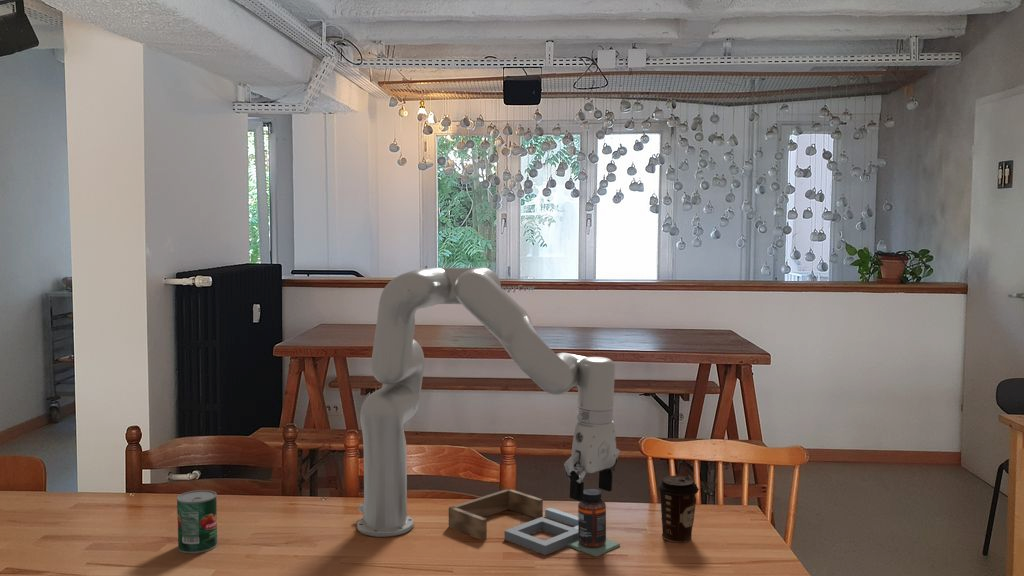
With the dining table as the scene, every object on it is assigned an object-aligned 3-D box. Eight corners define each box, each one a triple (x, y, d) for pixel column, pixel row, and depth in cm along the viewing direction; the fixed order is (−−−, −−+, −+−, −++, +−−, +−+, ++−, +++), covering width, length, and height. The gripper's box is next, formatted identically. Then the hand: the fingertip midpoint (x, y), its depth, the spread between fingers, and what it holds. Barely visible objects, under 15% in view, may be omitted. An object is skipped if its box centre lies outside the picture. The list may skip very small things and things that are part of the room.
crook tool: (530, 522, 192) (530, 514, 192) (549, 514, 197) (550, 507, 197) (577, 538, 182) (577, 530, 182) (596, 530, 187) (596, 522, 187)
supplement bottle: (609, 540, 179) (609, 489, 178) (601, 550, 174) (601, 497, 173) (583, 536, 181) (583, 485, 181) (574, 546, 176) (574, 494, 175)
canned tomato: (177, 542, 178) (176, 492, 177) (216, 537, 181) (215, 488, 180) (178, 556, 171) (177, 504, 170) (219, 550, 174) (217, 499, 173)
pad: (567, 546, 178) (567, 543, 178) (590, 536, 183) (590, 533, 183) (596, 556, 172) (596, 553, 172) (619, 546, 178) (619, 543, 178)
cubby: (448, 526, 188) (448, 507, 188) (508, 506, 202) (508, 488, 202) (482, 540, 180) (482, 520, 180) (542, 518, 194) (542, 499, 194)
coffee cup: (699, 533, 185) (701, 476, 184) (695, 547, 177) (696, 487, 176) (660, 528, 188) (661, 472, 187) (654, 541, 180) (655, 483, 179)
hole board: (504, 539, 181) (504, 530, 181) (541, 525, 189) (541, 516, 189) (545, 555, 173) (545, 545, 172) (582, 539, 181) (582, 530, 181)
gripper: (582, 425, 167) (578, 508, 168) (633, 413, 179) (629, 490, 180) (554, 418, 172) (550, 498, 173) (605, 406, 184) (602, 482, 186)
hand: (590, 494), depth 177 cm, fingers open, 9 cm apart
